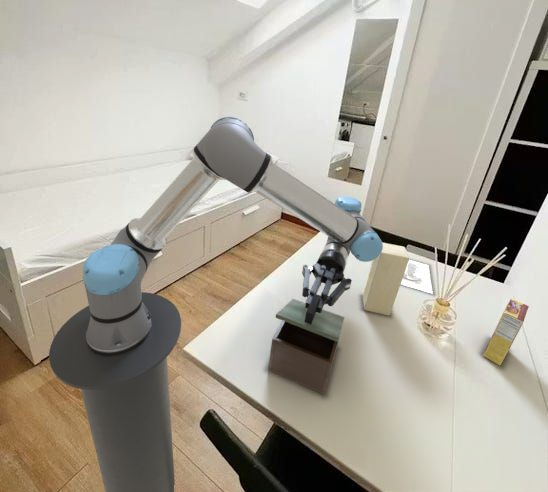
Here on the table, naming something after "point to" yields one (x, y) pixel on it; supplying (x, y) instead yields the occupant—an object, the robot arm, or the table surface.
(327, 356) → the chest
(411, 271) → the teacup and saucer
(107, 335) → the robot arm
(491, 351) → the candy box
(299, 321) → the chest lid
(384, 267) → the toy refrigerator
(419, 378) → the table surface
